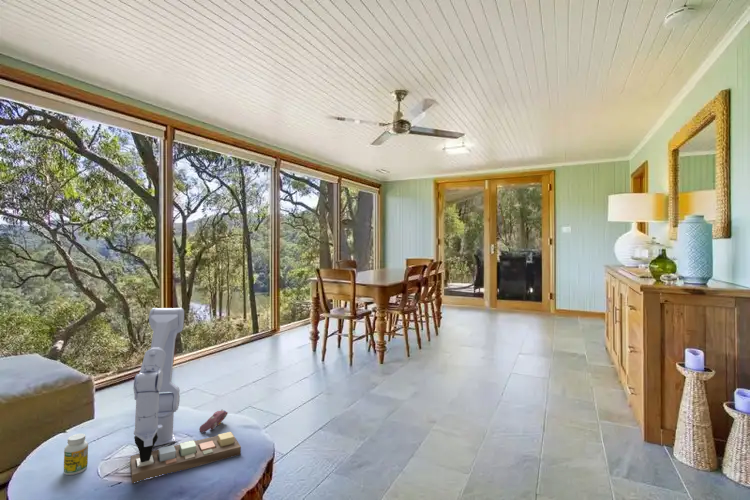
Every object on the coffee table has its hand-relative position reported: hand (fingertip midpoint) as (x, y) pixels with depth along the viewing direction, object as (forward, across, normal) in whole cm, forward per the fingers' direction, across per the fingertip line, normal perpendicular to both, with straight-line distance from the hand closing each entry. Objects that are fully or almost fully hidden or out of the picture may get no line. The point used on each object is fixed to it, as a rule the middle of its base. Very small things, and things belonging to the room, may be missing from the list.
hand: (145, 460), depth 110 cm
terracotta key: (+3, 0, -17) cm, 17 cm away
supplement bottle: (+3, +10, +16) cm, 19 cm away
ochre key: (+1, 0, -22) cm, 22 cm away
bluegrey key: (+1, 0, -6) cm, 6 cm away
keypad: (+3, 0, -11) cm, 12 cm away
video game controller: (+3, +18, -23) cm, 29 cm away
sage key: (+1, 0, -11) cm, 11 cm away
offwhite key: (+3, 0, 0) cm, 3 cm away
